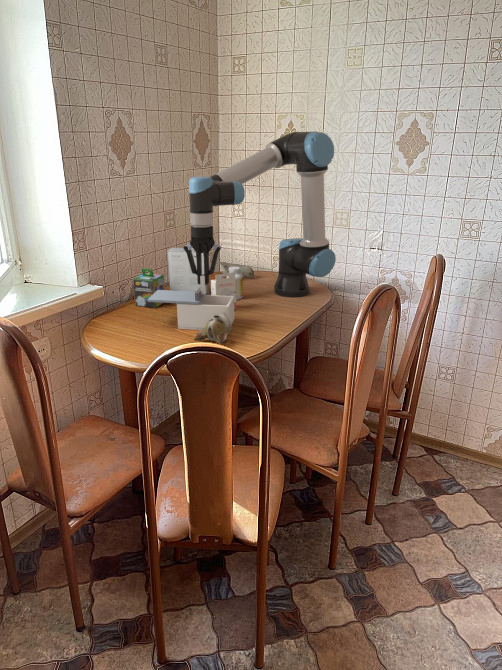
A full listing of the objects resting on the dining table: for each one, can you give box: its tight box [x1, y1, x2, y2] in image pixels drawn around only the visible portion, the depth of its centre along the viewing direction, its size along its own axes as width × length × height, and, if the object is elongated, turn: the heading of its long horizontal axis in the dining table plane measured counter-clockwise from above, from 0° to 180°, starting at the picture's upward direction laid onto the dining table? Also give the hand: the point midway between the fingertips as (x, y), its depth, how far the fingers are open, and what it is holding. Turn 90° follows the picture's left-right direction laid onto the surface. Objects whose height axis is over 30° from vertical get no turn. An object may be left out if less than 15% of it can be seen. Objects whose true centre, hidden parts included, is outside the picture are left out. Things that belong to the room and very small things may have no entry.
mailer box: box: [176, 294, 235, 331], centre depth 180 cm, size 18×12×9 cm, turn 83°
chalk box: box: [132, 267, 166, 309], centre depth 200 cm, size 9×9×15 cm
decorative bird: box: [217, 260, 255, 280], centre depth 239 cm, size 6×17×8 cm, turn 80°
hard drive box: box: [166, 247, 210, 295], centre depth 209 cm, size 16×8×20 cm, turn 84°
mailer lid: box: [147, 286, 206, 304], centre depth 179 cm, size 18×12×4 cm, turn 83°
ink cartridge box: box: [210, 273, 237, 310], centre depth 195 cm, size 9×5×15 cm, turn 117°
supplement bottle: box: [226, 267, 244, 301], centre depth 209 cm, size 7×7×13 cm
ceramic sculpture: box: [193, 312, 233, 345], centre depth 167 cm, size 11×9×15 cm
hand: (203, 293), depth 178 cm, fingers closed
